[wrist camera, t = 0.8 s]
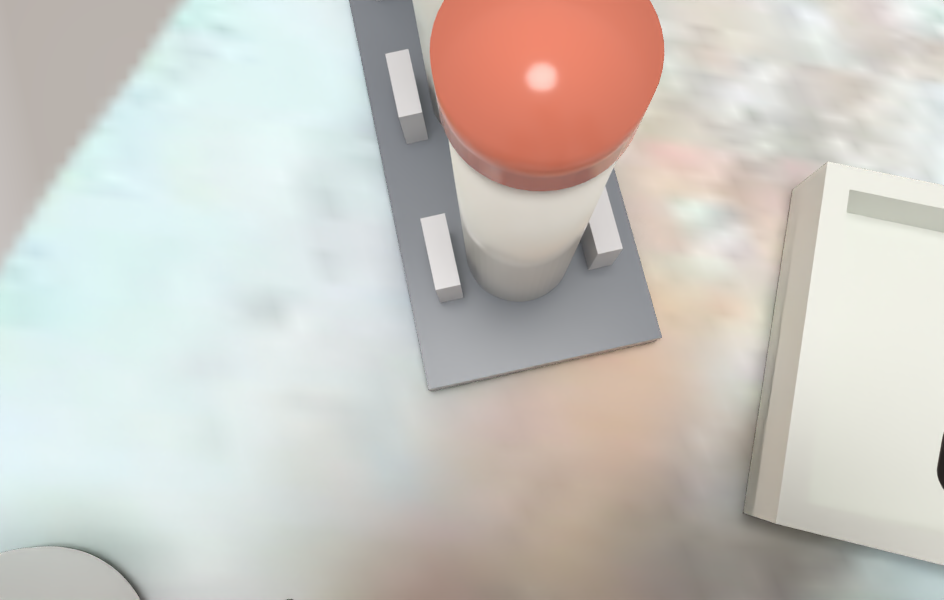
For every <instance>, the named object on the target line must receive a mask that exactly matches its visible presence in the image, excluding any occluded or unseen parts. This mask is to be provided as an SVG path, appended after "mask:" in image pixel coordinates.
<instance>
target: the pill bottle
mask: <svg viewBox="0 0 944 600" xmlns="http://www.w3.org/2000/svg"><path fill="white" fill-rule="evenodd" d="M0 600H140V598H139V597H138V595H137V593H136V592H135V590H134V589H133V588H132V586H131V585H130V584H129V582H128V581H127V580H126V579H125V578H124V577H123V576H122V575H121V574H120V573H119V572H118V571H117V570H115V569H114V568H113V567H112V566H110V565H109V564H107V563H106V562H104V561H103V560H101V559H99V558H97V557H95V556H93V555H91V554H88V553H86V552H83V551H80V550H76V549H71V548H66V547H56V546H42V547H29V548H20V549H14V550H10V551H5V552H1V553H0Z"/></svg>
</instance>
